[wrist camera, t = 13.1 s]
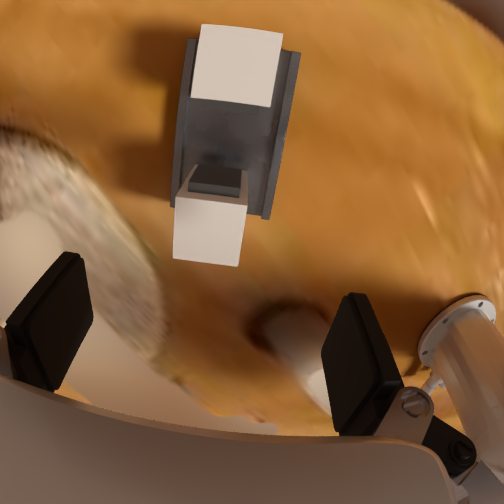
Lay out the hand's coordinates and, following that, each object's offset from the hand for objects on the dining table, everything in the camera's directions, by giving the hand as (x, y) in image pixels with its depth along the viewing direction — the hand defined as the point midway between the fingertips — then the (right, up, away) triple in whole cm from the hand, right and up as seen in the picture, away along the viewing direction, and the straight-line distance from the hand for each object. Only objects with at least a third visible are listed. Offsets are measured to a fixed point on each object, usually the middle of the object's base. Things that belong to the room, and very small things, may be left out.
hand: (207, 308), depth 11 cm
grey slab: (0, +11, +12) cm, 16 cm away
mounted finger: (+1, +14, +9) cm, 17 cm away
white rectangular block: (-1, +7, +13) cm, 15 cm away
